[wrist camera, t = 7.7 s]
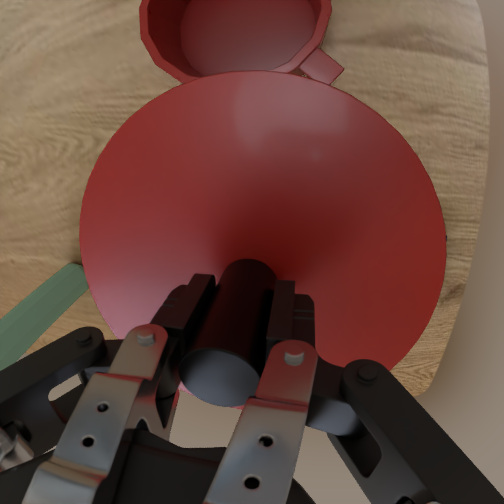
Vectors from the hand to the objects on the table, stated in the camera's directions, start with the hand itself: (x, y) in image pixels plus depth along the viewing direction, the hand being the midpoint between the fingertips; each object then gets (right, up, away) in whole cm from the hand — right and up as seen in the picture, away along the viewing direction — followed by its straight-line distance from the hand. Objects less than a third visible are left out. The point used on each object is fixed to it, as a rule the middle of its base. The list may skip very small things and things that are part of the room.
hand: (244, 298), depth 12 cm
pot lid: (0, +1, +1) cm, 2 cm away
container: (-25, -1, +30) cm, 39 cm away
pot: (0, +25, +15) cm, 29 cm away
